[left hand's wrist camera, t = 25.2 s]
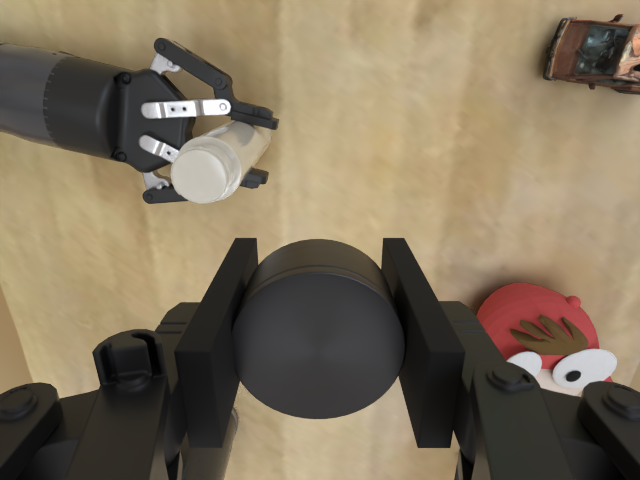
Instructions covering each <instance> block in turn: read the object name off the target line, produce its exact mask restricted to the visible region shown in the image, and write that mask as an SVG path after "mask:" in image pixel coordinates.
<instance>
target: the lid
mask: <svg viewBox="0 0 640 480" xmlns="http://www.w3.org/2000/svg"><path fill="white" fill-rule="evenodd" d="M231 334H232V345H233V355H234V366H235V372H236V374H237V376H238V378H239V379H240V381H241V382H242V384H243V385H244V386H245V388H246V389H247V390H248V391H249V392H250V393H251V394H252V395H253V396H254V397H255V398H256V399H258V400H259V401H261V402H262V403H264V404H265V405H267V406H269V407H270V408H272V409H274V410H277V411H279V412H281V413H284V414H287V415H291V416H295V417H300V418H307V419H328V418H336V417H341V416H345V415H348V414H351V413H354V412H357V411H359V410H361V409H363V408H365V407H367V406H369V405H370V404H372V403H374V402H375V401H376V400H378V399H379V398H380V397H381V396H383V395H384V394H385V393H386V392H387V391H388V390H389V388H390V387H391V386H392V384H393V383H394V382H395V380H396V378H397V377H398V375H399V373H400V371H401V368H402V366H403V363H404V358H405V353H406V338H405V332H404V328H403V324H402V322H401V319H400V316H399V313H398V310H397V307H396V304H395V301H394V298H393V295H392V292H391V289H390V287H389V284H388V282H387V279H386V277H385V275H384V274H383V272H382V270H381V269H380V268H379V267H378V265H377V264H376V263H375V262H374V261H373V260H372V259H371V258H370V257H369V256H367V255H366V254H364V253H363V252H362V251H360V250H358V249H356V248H354V247H352V246H350V245H347V244H345V243H342V242H338V241H333V240H325V239H310V240H303V241H298V242H294V243H291V244H288V245H286V246H284V247H281V248H279V249H278V250H276V251H274V252H273V253H271V254H270V255H269V256H267V257H266V258H265V259H264V260H263V261H262V262H261V263H260V264H259V265H258V266H257V268H256V269H255V270H254V272H253V273H252V275H251V277H250V279H249V281H248V284H247V287H246V290H245V292H244V295H243V298H242V301H241V303H240V306H239V309H238V312H237V314H236V317H235V320H234V323H233V325H232V328H231Z"/></svg>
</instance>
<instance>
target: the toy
mask: <svg viewBox="0 0 640 480" xmlns="http://www.w3.org/2000/svg"><path fill="white" fill-rule="evenodd" d="M580 304H581V302H580V299H579V298H578V297H576V296H569V297H565V296H563V295H561V294H559V293H557V292H554V291H552V290H549V289H547V288H544V287H540V286H536V285H532V284H529V283H512V284H508V285H506V286H503V287H501V288H499V289H498V290H496V291H495V292H493V293H492V294H491V295H490V296H489V297H488V298H487V299H486V300H485V301H484V302H483V304H482V305H481V307H480V309H479V311H478V313H477V316H476V317H477V318H478V320H479V321H480V323H481V324H482V326H483V327H484V329H485V330H486V333H488V335H489V336H490V338H491V339H492V341H493V342H494V344H495V345H496V347H497V348H498V350H499V351H500V353H501V354H502V356H503V357H504V359H505V360H506V361H507V362H510V363H513V364H516V365H518V366H520V367H522V368H524V369H525V370H527V371H528V372H529V373H531V374H532V375H533V376H534V377H535V379H536V380H537V381H538V383H539V384H540V387H541V388H544V389H547V390H551V391H555V392H559V393H564V394H569V395H573V396H576V395H577V394H578V393H579V392H580V391H581V390H583V389H584V387H585V386H586V385H587V384H589V383H590V382H596V381H607V382H613V381H612V379H611V377H610V375H611V374H612V373H613V371H614V370H615V368H616V365H617V359H616V358H615V356H614V354H612V353H611V352H609V351H606V350H602V349H599V342H598V337H597V333H596V330H595V328H594V326H593V324H592V322H591V320H590V318H589V316H588V315H587V314H586V313H585V311H584V310H583V309H582V308H581V307H580Z"/></svg>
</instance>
